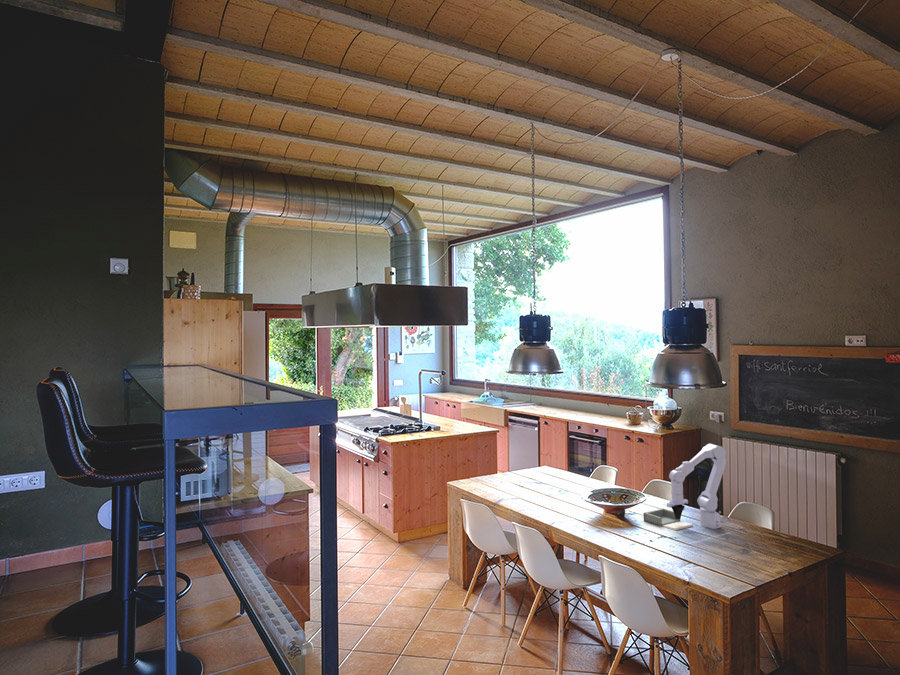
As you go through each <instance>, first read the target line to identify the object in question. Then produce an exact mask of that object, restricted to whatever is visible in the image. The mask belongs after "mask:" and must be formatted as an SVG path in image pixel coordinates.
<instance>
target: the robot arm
mask: <svg viewBox="0 0 900 675" xmlns="http://www.w3.org/2000/svg"><path fill="white" fill-rule="evenodd" d="M726 455H727V451H726V450H725V448H724V447H723V446H721V445H716V444H713V443H710V442H709V443H708V444H706V445H705V446H703V447H702V449H701V450H700V451H699V452H698V453H697V454H696V455H694V456H693V457H692V458H691V459H690V460H689V461H688V460H686V461H682V464H680V466H678V467H676V468H675V469H673V470H670V472H669V474H668V478H669V479H670V486H671V488H670V489H671V491H670V492H671V499H669V500H670V501H668V502H666V507H667V508H670V509H672V511H673V512H674V514H675V518H676V519H680V520H681V517H682V513H683V511H684V509H685V504H686V505H687V504H689V500H688V499H686V498H684V486H683V483H684V481H685V478H686V477H687V476H688V475H689V474H691V473H692V472H693V471H694V470H695V467H696V466H697V465H698V464H700V463H701V462H702V461H704V460H705V459H711V460H712V462H713V466H712V468H711V472H710V474H709V478H708V481H707V482H706V486H705V490H704V491H702V492H701V493H700V495H699V496H698V498H697V500H696V501H697V504H698V506H699V513H700V514H699V517H700V518H699V520H700V521H699V522H700V526H701V527H704V528H709V529H711V530H715V529H718V528H721V526H722V525H721V524H722V523H721V515H720V513H719V512H717V511H716V510H717V508H718V500H719V499H718V496H717V493H718V489H719V486H720V484H721V480H722V478H723V474H724V471H725V468H726V465H727V458H726Z"/></svg>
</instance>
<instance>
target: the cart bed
mask: <svg viewBox="0 0 900 675" xmlns="http://www.w3.org/2000/svg"><path fill="white" fill-rule="evenodd" d="M679 521H681V519H676V518H675V514H674V512H673V510H670V509H666V508H660V509H654V510H651V511H646V512H643V522H646V523H649V524H652V525H655V526H658V527H663V525H667V524H671V523H675V522H679Z"/></svg>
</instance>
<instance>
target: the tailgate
mask: <svg viewBox="0 0 900 675" xmlns="http://www.w3.org/2000/svg"><path fill="white" fill-rule="evenodd" d="M662 527H663V528H666V529H670V530H672V531H678V530H679V531H680V530H682V529H686V528H690V527H694V523H691V522H690V523H689V522H686V521H685V522H684V521H681V520H680V521H679V522H675V523H671V524H667V525H663V526H662Z"/></svg>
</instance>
